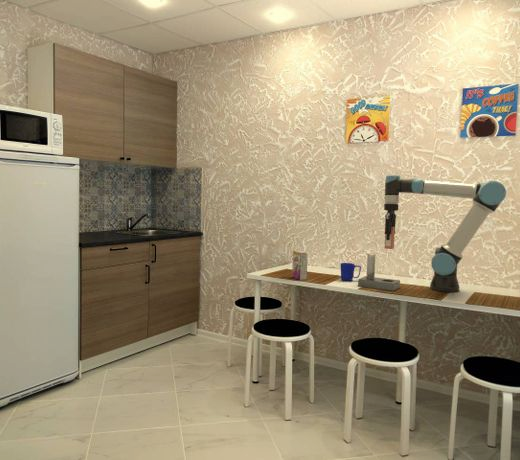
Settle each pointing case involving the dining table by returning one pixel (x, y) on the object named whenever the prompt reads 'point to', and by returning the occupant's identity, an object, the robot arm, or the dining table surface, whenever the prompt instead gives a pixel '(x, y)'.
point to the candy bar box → (299, 265)
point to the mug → (348, 271)
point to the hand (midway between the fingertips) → (389, 245)
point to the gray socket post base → (375, 282)
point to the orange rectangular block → (391, 239)
